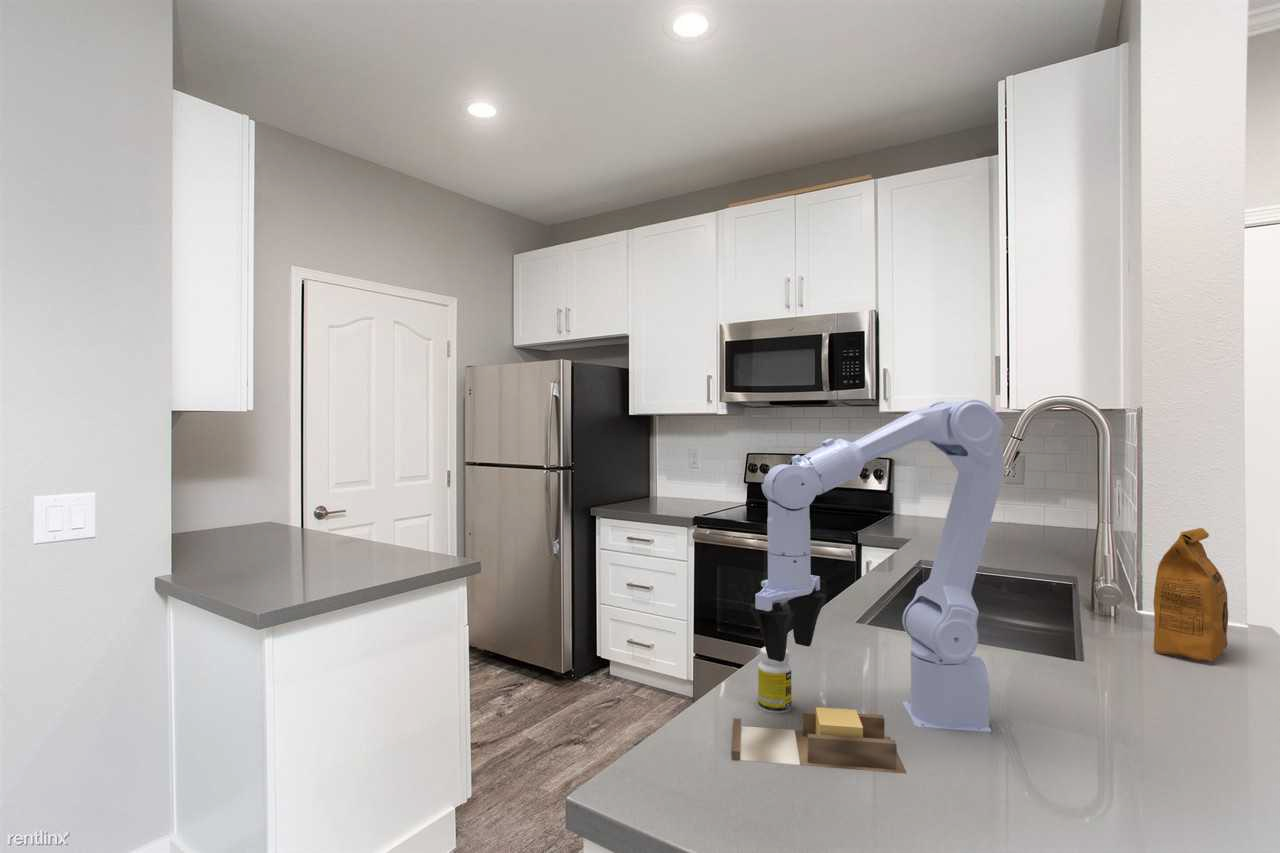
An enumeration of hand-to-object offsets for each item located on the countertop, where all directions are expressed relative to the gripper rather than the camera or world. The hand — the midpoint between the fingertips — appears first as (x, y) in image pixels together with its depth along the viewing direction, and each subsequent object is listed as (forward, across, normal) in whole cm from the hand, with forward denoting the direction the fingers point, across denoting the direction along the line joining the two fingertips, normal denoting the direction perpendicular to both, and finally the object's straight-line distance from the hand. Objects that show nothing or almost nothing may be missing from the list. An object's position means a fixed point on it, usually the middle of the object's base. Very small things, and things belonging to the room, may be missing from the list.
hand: (789, 651), depth 90 cm
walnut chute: (+10, +5, +6) cm, 13 cm away
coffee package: (+10, -72, +41) cm, 83 cm away
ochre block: (+9, +4, +9) cm, 13 cm away
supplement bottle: (+10, -3, -4) cm, 11 cm away
